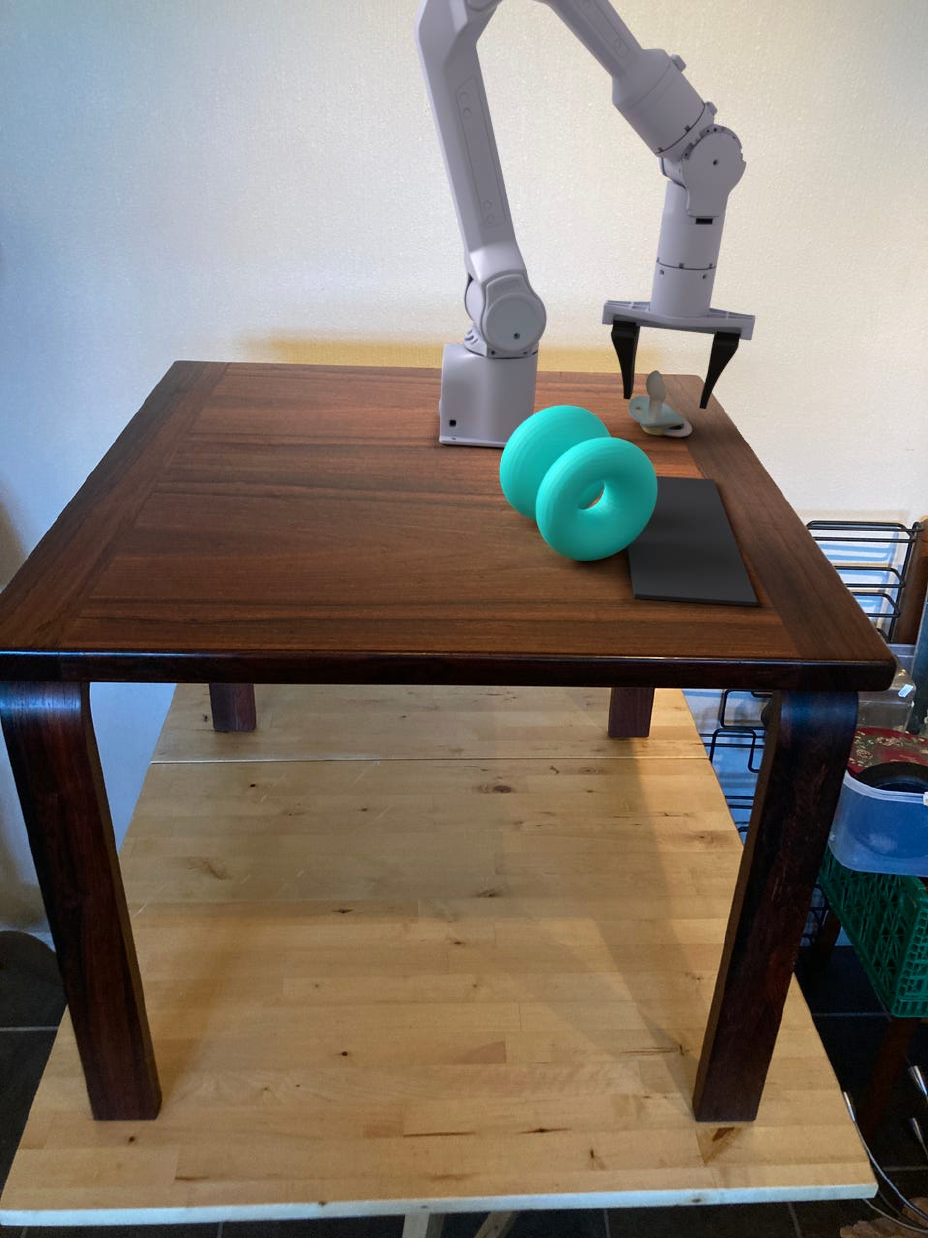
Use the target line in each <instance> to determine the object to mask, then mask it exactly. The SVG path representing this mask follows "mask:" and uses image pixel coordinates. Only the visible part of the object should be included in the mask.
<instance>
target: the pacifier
mask: <svg viewBox="0 0 928 1238" xmlns="http://www.w3.org/2000/svg"><path fill="white" fill-rule="evenodd" d="M645 389H646V392H647V395H648V396H647V395H639V396H635V397H634V398H632V399H630V400H629V403H628V412H629V415H630V417H631V418H632V420H635V421H636V423H637V422H638V423H639V426H640V427H641V429H642V430H643V431H644V432H645V433H647V434H649V435H653V436H668V437H675V438H682V437H687V436H689V435H690V434H691V433H692V432H693V427H692V425H691V424H690V422H689V421H687V420H686V419H685V418H684V417H681V416H680V415H679V414H678V413H677V412H676V411H675V410H674V409H672V408H671V407H670V406H669V405H667V404H666V403H665V401H666V398H667V397H666V395H667V393H666V392H667V391H666V385H665V381H664V379H663V376H662V374H661V372H660V371H659V370H657V369H656V370H652V371H651V372H650V373H649V374H648V375H647V377H646V381H645ZM638 411H641V412H638ZM677 426H679V427H681V428H680V429H672V427H673V428H674V427H677Z"/></svg>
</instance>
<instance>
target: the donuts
mask: <svg viewBox="0 0 928 1238" xmlns="http://www.w3.org/2000/svg"><path fill="white" fill-rule="evenodd" d="M656 473H657V472H656V469H655V468H654V465H653V463H652V461H651V460H650V458H649V457H648V455H647V454H646V453H645V452H644V451H643V450H642V449H641V448H640V447H638V446H637V445H635V444H634V443H632V442H630V441H628V440H626V439H622V438H620V437H619V438H618V437H611V433H610V432H609V430H608V428H607V427H606V425H605V424H604V422H603V421H602V420H601V418H599V416H597V415H596V414H594V413H593V412H591V411H589V410H587V409H585V408H583V407H579V406H576V405H569V404H568V405H567V404H563V405H562V404H561V405H555V406H554V405H553V406H550V407H547V408H543V409H542V410H539V411H537V412H536V413H534V415H532V416H531V417H529V418H528V419H527V420H525V421H524V422H523V423H522V424H521V425H520V426H519V427H518V428H517V429H516V430H515V432H514V433H513V434H512V436H511V437H510V439H509V441H508V442H507V444H506V447H504V448H503V452H502V455H501V459H500V465H499V482H500V487H501V490H502V492H503V495H504V497H505V499H506V500H507V502H508V504H509V505H510V506H511V507H512V509H514V510H515V511H516V512H517V513H518V514H520V515H521V516H523V517H524V518H527V519H529V520H532V521H535V522H536V524H537V527H538V530H539V533H540V534H541V537H542V539H543V541H544V542H545V543H546V544H547V545H548V546H549V547H550V548H551V549H552V550H553V551H554V552H556V554H558V555H561V556H562V557H565V558H567V559H570V560H573V561H580V562H590V561H591V562H592V561H598V560H602V559H606V558H608V557H611V556H613V555H615V554H617V553H619V552H620V551H622V550H624V549H625V548H626V546H628V545H629V544H630V543H631V542H632V541H633V540H634V539H635V538H636V537H637V536H638V535H639V534H640V533H641V532H642V530H643V529H644V528H645V526H646V524H647V523H648V521H649V519H650V517H651V515H652V513H653V510H654V507H655V503H656V499H657V478H656V476H657V474H656ZM601 494H602V495H601ZM600 496H601V497H600ZM599 497H600V498H599ZM598 498H599V500H598V501H597V502H596V500H597V499H598ZM594 502H596V503H595V504H594ZM592 504H594V505H593V506H591V505H592ZM590 506H591V507H590Z"/></svg>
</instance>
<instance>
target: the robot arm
mask: <svg viewBox="0 0 928 1238" xmlns="http://www.w3.org/2000/svg"><path fill="white" fill-rule="evenodd" d="M503 1H504V0H419V3H418V8H417V11H416V15H415V18H414V22H413V38H414V43H415V47H416V52H417V55H418V59H419V63H420V69H421V73H422V77H423V80H424V86H425V89H426V93H427V98H428V101H429V106H430V110H431V114H432V119H433V123H434V127H435V131H436V135H437V139H438V143H439V148H440V152H441V156H442V160H443V165H444V169H445V174H446V177H447V181H448V186H449V190H450V194H451V199H452V203H453V207H454V212H455V215H456V221H457V225H458V228H459V232H460V236H461V241H462V245H463V263H464V268H465V272H466V282H465V288H464V292H463V305H464V309H465V311H466V314H467V316H468V317H469V319H470V320H471V321H472V325H471V326H470V327H469V329H468V331H467V332H466V335H464V339H463V342H457V343H455V342H454V343H453V342H452V343H449V342H448V343H445V344H444V346H443V351H442V361H441V377H440V380H441V381H440V399H439V402H438V418H439V437H438V438H439V439H438V442H439V443H440V444H445V445H458V446H475V447H492V448H505V447H506V444H507V442H508V441H509V439H510V437H511V436H512V434H513V433H514V432H515V430H516V429H517V428H518V427H519V426H520V425H521V424H522V423H523V422H524V421H525V420H527V419H528V418H529V417H531V416H532V415H534V414H535V401H536V387H537V377H538V376H537V374H538V362H539V349H540V340H541V339H542V337H543V335H544V333H545V330H546V327H547V311H546V307H545V304H544V302H543V300H542V298H541V297H540V296H539V295H538V294H537V292H536V291H535V289H533V287H532V284H531V282H530V279H529V274H528V270H527V267H526V263H525V261H524V258H523V255H522V253H521V250H520V248H519V245H518V241H517V238H516V233H515V228H514V223H513V219H512V214H511V208H510V204H509V199H508V194H507V188H506V185H505V180H504V179H505V178H504V175H503V170H502V166H501V165H502V164H501V160H500V155H499V151H498V150H499V149H498V144H497V141H496V136H495V131H494V126H493V122H492V116H491V111H490V108H489V107H490V106H489V101H488V97H487V92H486V87H485V83H484V77H483V73H482V68H481V63H480V59H479V58H480V57H479V54H478V48H477V44H478V41H479V40H480V38H481V36H482V34H483V33H484V31H485V30H486V27H487V26H488V25H489V22H490V21H491V19H492V17H493V16H494V14H495V13H496V11H497V8H498V6H499V5H500V4H501V3H503ZM533 1H534V2H537V3H541V4H544V5H545V6H548V7H549V8H550V9H551V10H552V11H553V12H554V13H555V15H556V16H557V17H558V18H559V19H560V20H561V21H562V22H563V24H564V25H565V26H566V28H567V29H568V30H570V32H571V33H572V34H573V35H574V36H575V37H576V38H577V40H578V41H579V42H580V43H581V44H582V46H584V47H585V49H586V50H587V51H588V52H589V53H590V54H591V56H593V58H594V59H595V60H596V61H597V62H598V64H600V66H601V67H602V68H603V69H604V71H606V73H607V74H608V75H609V76H610V78H611V102H612V105H613V106H614V107H615V109H616V110H617V111H618V113H619V114H620V115H621V116H622V117H623V119H625V121H626V122H627V124H629V126H630V127H631V128H632V129H633V130H634V132H635V133H636V134H637V136H639V138H640V139H641V140H642V141H643V142H644V144H645V145H646V146H647V148H649V150H650V151H651V152H652V154H653V155H654V156H655V157H656V158H658V163H659V168H660V172H661V174H662V175H663V176H664V177H666V178H668V179H669V180H667V182H666V188H665V196H664V202H663V203H664V204H663V209H662V214H661V221H660V227H659V228H660V230H659V236H658V243H657V244H658V245H657V251H656V258H655V265H654V273H653V279H652V286H651V287H652V288H651V295H650V301H641V300H640V301H639V300H638V301H637V300H636V301H635V300H630V301H629V300H613V299H612V300H611V299H607V300H606V301H604V303H603V309H602V318H601V324H602V325H607V326H612V327H611V331H610V338H611V342H612V345H613V347H614V351H615V353H616V355H617V356H616V357H617V359H618V365H619V367H620V372H621V379H622V389H623V390H622V391H623V392H622V393H623V394H622V395H623V397H622V399H623V400H629V401H631V398H632V396H633V392H634V387H635V386H634V385H635V375H636V374H635V373H636V359H637V358H636V357H637V352H638V346H639V339H640V332H641V328H642V327H643V328H651V329H652V328H653V329H660V330H670V331H678V332H686V333H687V332H689V333H698V334H707V335H713V339H712V343H711V348H710V354H709V361H708V366H707V372H706V377H705V380H704V384H703V389H702V392H701V396H700V401H699V407H698V408H699V409H700V410H707V407H708V404H709V400H710V397H711V395H712V393H713V390H714V388H715V386H716V385H717V382H718V380H719V378H720V376H721V375H722V373H724V370H725V368H727V365H728V364H729V363H730V361H731V360H732V359H733V357H734V356H735V354H736V352H737V350H738V349H739V345H740V340H741V341H742V340H744V341H752V339H753V334H754V328H755V323H756V315H754V314H746V313H739V312H734V311H728V310H724V309H719V308H714V307H711V303H712V297H713V290H714V284H715V279H716V274H717V267H718V263H719V262H718V261H719V255H720V250H721V244H722V237H723V231H724V227H725V220H726V213H727V207H728V206H727V205H728V200H729V196H730V194H731V192H732V190H733V189H735V187H736V186H737V185H738V184H739V182H740V181H741V179H742V178H743V176H744V174H745V170H746V168H747V161H746V160H744V159H743V158H744V154H743V152H742V150H743V146H742V142H741V140H740V138H739V137H738V135H737V134H736V133H735V132H734V131H733V130H732V129H731V128H729V127H727V126H724V125H721V124H717V123H715V116H716V114H717V113H718V111H719V110H718V108H717V107H716V106H715V104H714V102H712V101H709V100H707V101H704V100H703V98H702V97H701V96H700V94H699V93H698V92H697V90H696V89H695V87H694V86H693V85H692V83H691V82H690V81H689V79H688V78H687V77H686V76H685V75H684V73H683V72H684V70H685V69H686V68H687V64H686V63H685V61H684V60H683V58H682V57H681V55H679V54H673V53H672V54H671V55H669V54H668V52H667V51H666V50H665V49H663V48H643V47H642V46H641V45H640V43H639V42H638V39H637V38H636V37H635V36H634V34H633V33H632V31H631V30H630V29H629V28H628V26H627V24H626V22H624V20H623V19H622V18H621V16H620V14H619V13H618V12H617V10H616V9H615V8H614V6H613V5H612V3H611V1H609V0H533Z"/></svg>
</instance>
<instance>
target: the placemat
mask: <svg viewBox="0 0 928 1238" xmlns="http://www.w3.org/2000/svg"><path fill="white" fill-rule="evenodd" d="M656 478H657V499H656V503H655V507H654V510H653V513H652V515H651V517H650V519H649V521H648V523H647V524H646V526H645V528H644V529H643V530H642V532H641V533H640V534H639V535H638V536H637V537H636V538H635V539H634V540H633V541H632V542H631V543H630V544H629V545H628V546H626V547H625V548H626V553H627V560H628V566H629V572H630V578H631V579H630V581H631V586H632V592H633V598H634V599H641V600H655V601H672V602H683V603H684V602H685V603H700V604H703V603H704V604H715V605H729V606H730V605H732V606H743V607H745V606H746V607H757V606H758V600H757V596H756V594H755V591H754V588H753V586H752V584H751V580H750V577H749V574H748V572H747V569H746V566H745V563H744V560H743V558H742V554H741V552H740V549H739V546H738V544H737V541H736V538H735V535H734V533H733V530H732V527H731V524H730V522H729V518H728V516H727V513H726V509H725V507H724V504H723V502H722V499H721V497H720V494H719V491H718V488H717V485H716V482H715V479H712V478H695V477H683V476H682V477H680V476H665V475H656Z"/></svg>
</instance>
